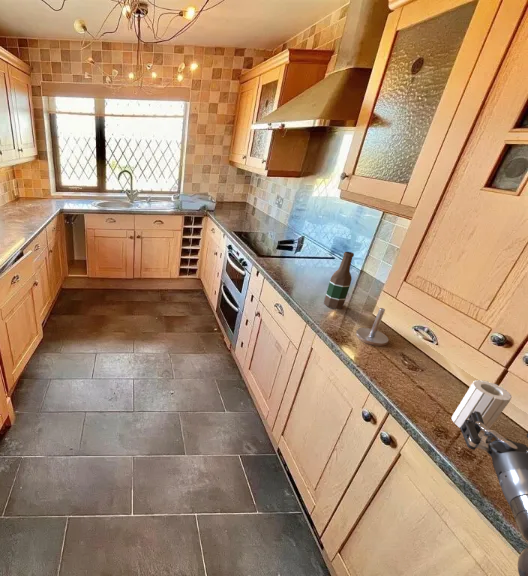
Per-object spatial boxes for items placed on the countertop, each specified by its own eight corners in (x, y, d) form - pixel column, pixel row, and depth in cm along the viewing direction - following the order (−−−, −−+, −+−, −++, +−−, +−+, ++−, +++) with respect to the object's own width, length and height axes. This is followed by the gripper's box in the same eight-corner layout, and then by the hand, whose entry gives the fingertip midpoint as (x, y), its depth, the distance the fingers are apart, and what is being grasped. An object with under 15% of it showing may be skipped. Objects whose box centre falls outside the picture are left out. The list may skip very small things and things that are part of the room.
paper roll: (478, 419, 80) (502, 384, 74) (491, 439, 74) (518, 403, 69) (447, 411, 82) (468, 377, 76) (457, 430, 77) (480, 395, 71)
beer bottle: (336, 311, 128) (353, 257, 117) (319, 303, 134) (333, 251, 123) (347, 306, 131) (364, 253, 121) (330, 298, 138) (345, 248, 127)
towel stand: (383, 333, 113) (395, 305, 108) (390, 348, 106) (403, 318, 100) (353, 328, 117) (363, 300, 111) (357, 342, 109) (368, 313, 104)
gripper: (610, 499, 49) (562, 426, 61) (485, 453, 56) (465, 396, 68) (580, 525, 52) (541, 451, 64) (466, 479, 59) (450, 420, 71)
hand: (502, 423), depth 66 cm, fingers open, 8 cm apart
